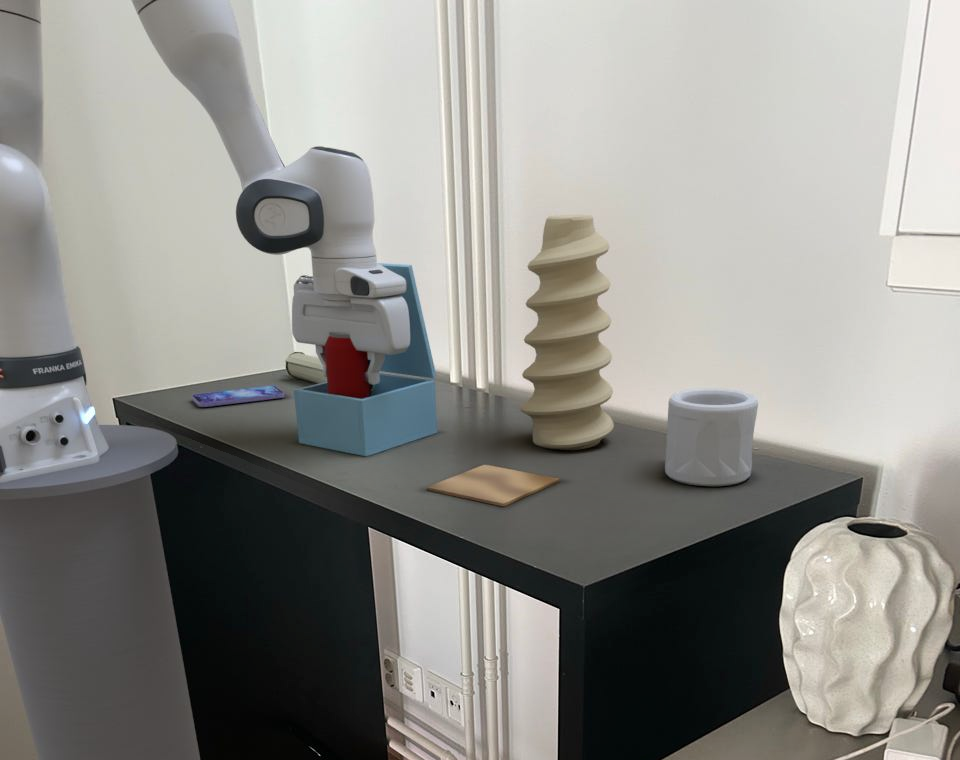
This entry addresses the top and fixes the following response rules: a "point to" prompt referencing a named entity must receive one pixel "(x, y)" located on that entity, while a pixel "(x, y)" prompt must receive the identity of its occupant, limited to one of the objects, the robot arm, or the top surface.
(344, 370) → the beverage can
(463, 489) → the cork mat
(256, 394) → the smartphone
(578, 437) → the decorative object
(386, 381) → the box
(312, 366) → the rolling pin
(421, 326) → the lid
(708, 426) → the mug
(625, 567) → the top surface
